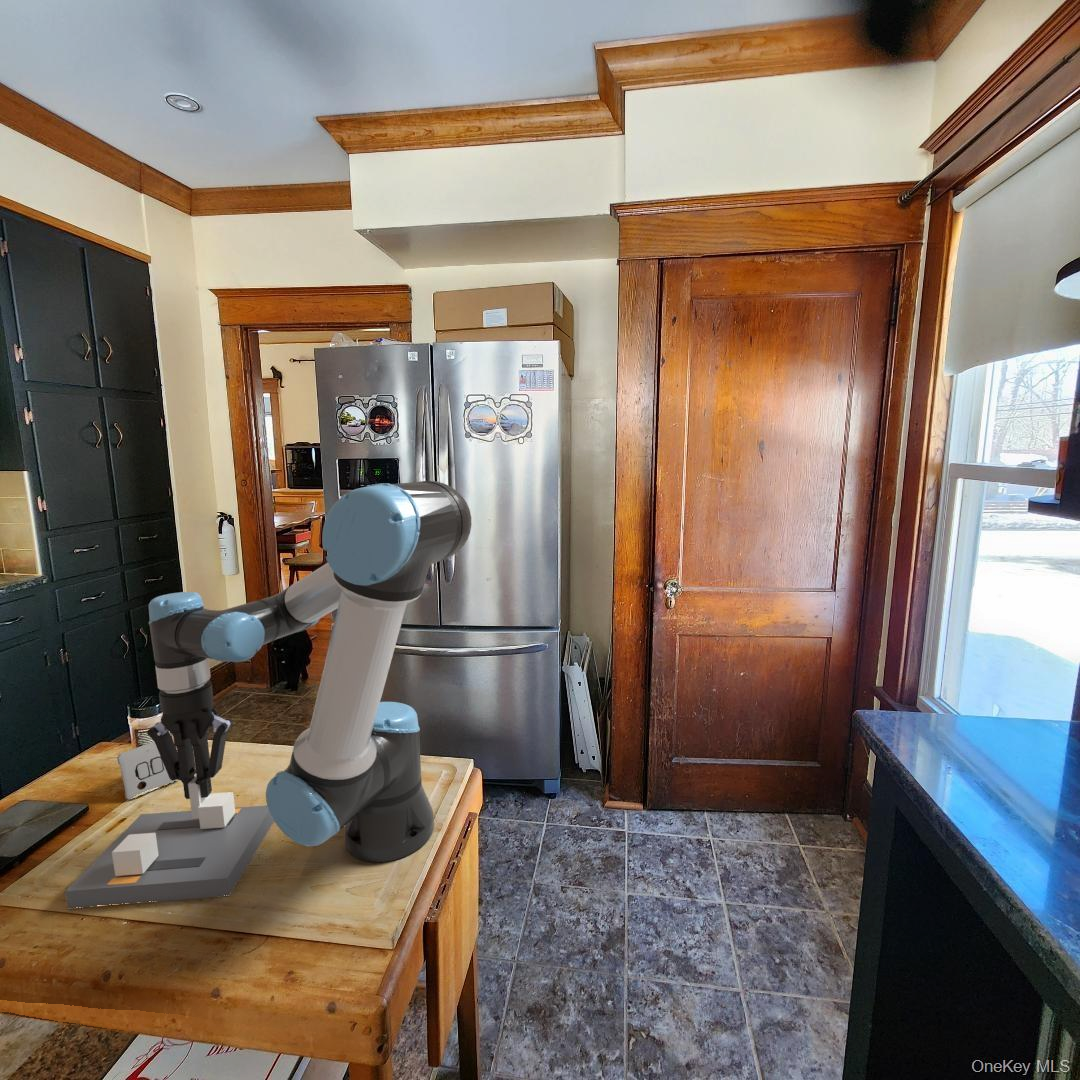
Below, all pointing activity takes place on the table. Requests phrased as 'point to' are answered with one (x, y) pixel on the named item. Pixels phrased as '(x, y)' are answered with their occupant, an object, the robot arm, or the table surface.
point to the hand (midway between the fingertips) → (200, 813)
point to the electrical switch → (142, 769)
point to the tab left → (135, 854)
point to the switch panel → (177, 860)
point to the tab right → (216, 810)
